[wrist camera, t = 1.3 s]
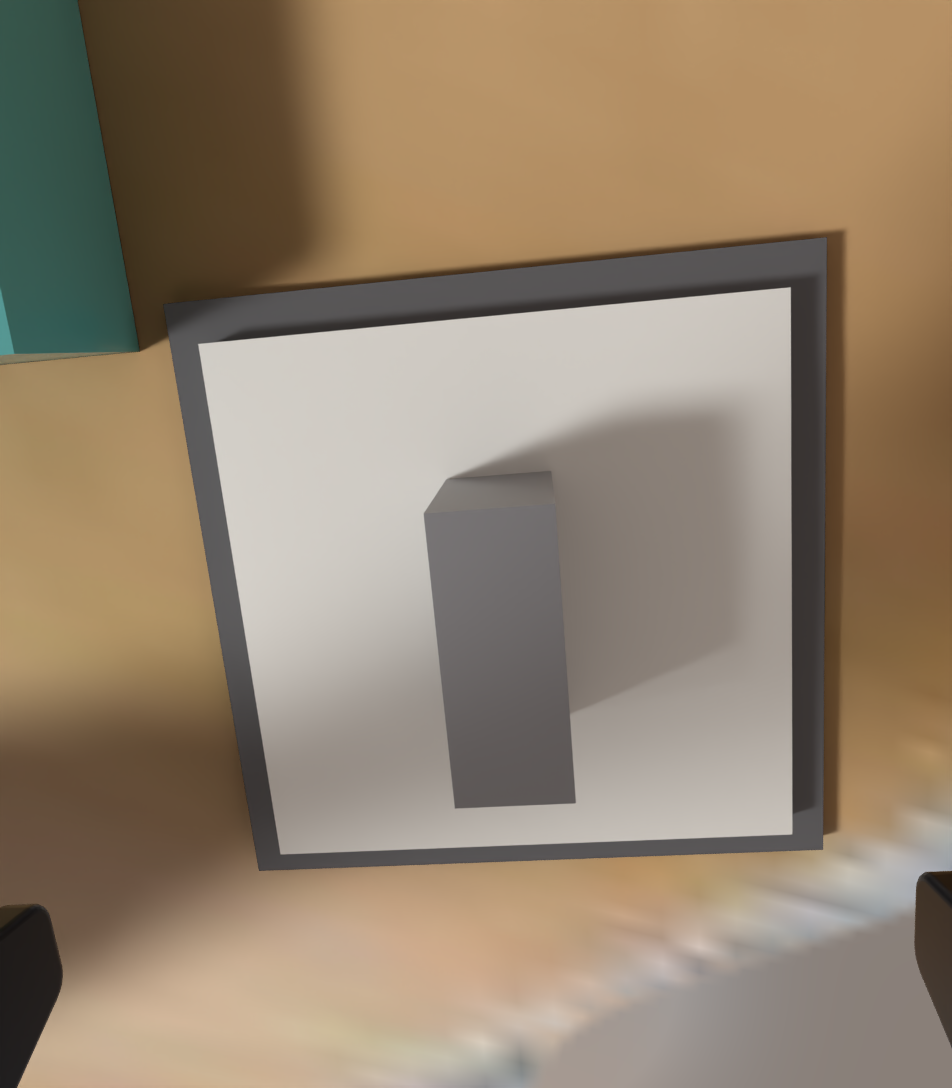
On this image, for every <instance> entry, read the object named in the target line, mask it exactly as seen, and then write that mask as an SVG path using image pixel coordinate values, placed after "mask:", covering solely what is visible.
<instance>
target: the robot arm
mask: <svg viewBox="0 0 952 1088" xmlns="http://www.w3.org/2000/svg"><path fill="white" fill-rule="evenodd" d="M914 943H915V955H916V960H917V964H918V967H919V970H920V973H921V975H922V978H923V980H924V983H925V985H926V987H927V990H928V992H929V995H930V997H931V999H932V1002H933V1004H934V1006H935V1009H936V1011H937V1014H938V1016H939V1018H940V1021H941V1023H942V1025H943V1028H944V1030H945V1033H946V1035H947V1037H948V1040H949V1042H950V1045H951V1047H952V871H940V872H925V873H923V874H922V875H921V876H920V877H919V879H918V882H917V886H916V910H915V941H914ZM62 978H63V970H62V964H61V960H60V956H59V952H58V947H57V943H56V939H55V935H54V931H53V927H52V923H51V918H50V915H49V913H48V911H47V910H46V909H45V908H44V907H43V906H41V905H39V904H27V905H7V906H3V907H0V1088H17V1086H18V1084H19V1082H20V1080H21V1078H22V1075H23V1073H24V1071H25V1069H26V1067H27V1064H28V1062H29V1060H30V1058H31V1055H32V1053H33V1051H34V1049H35V1047H36V1044H37V1042H38V1040H39V1038H40V1036H41V1033H42V1031H43V1029H44V1027H45V1025H46V1022H47V1020H48V1018H49V1016H50V1013H51V1011H52V1009H53V1007H54V1005H55V1002H56V1000H57V998H58V995H59V993H60V989H61V985H62Z"/></svg>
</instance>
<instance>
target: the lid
mask: <svg viewBox="0 0 952 1088" xmlns="http://www.w3.org/2000/svg"><path fill="white" fill-rule="evenodd" d="M198 346H199V352H200V358H201V365H202V371H203V377H204V383H205V389H206V396H207V402H208V408H209V414H210V420H211V426H212V433H213V439H214V445H215V451H216V457H217V464H218V470H219V476H220V482H221V488H222V495H223V501H224V507H225V513H226V519H227V526H228V532H229V538H230V544H231V550H232V557H233V563H234V569H235V575H236V581H237V587H238V594H239V600H240V606H241V612H242V618H243V625H244V631H245V637H246V643H247V649H248V656H249V662H250V668H251V674H252V680H253V687H254V693H255V699H256V705H257V711H258V717H259V724H260V730H261V736H262V742H263V748H264V755H265V761H266V767H267V773H268V779H269V786H270V792H271V798H272V804H273V810H274V817H275V823H276V829H277V835H278V841H279V848H280V854H306V853H331V852H357V851H382V850H408V849H434V848H459V847H485V846H510V845H536V844H561V843H587V842H613V841H638V840H664V839H689V838H715V837H740V836H766V835H791V834H792V534H791V287H789V288H778V289H768V290H758V291H747V292H737V293H726V294H716V295H705V296H695V297H684V298H674V299H663V300H653V301H643V302H632V303H622V304H611V305H601V306H590V307H580V308H569V309H559V310H548V311H538V312H528V313H517V314H507V315H496V316H486V317H475V318H465V319H454V320H444V321H433V322H423V323H412V324H402V325H392V326H381V327H371V328H360V329H350V330H339V331H329V332H318V333H308V334H297V335H287V336H277V337H266V338H256V339H245V340H235V341H224V342H214V343H203V344H198Z"/></svg>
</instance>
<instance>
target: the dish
mask: <svg viewBox="0 0 952 1088" xmlns="http://www.w3.org/2000/svg"><path fill="white" fill-rule="evenodd" d="M130 352H140V350H139V344H138V339H137V333H136V327H135V322H134V316H133V310H132V305H131V299H130V294H129V288H128V282H127V277H126V271H125V265H124V260H123V254H122V248H121V243H120V237H119V232H118V226H117V220H116V215H115V209H114V203H113V198H112V192H111V186H110V181H109V175H108V170H107V164H106V158H105V153H104V147H103V141H102V136H101V130H100V124H99V119H98V113H97V108H96V102H95V96H94V91H93V85H92V79H91V74H90V68H89V63H88V57H87V51H86V46H85V40H84V34H83V29H82V23H81V17H80V12H79V6H78V1H77V0H0V365H5V364H15V363H26V362H36V361H47V360H57V359H67V358H78V357H88V356H99V355H109V354H120V353H130Z"/></svg>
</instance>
